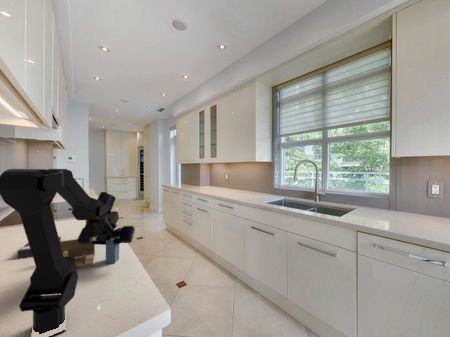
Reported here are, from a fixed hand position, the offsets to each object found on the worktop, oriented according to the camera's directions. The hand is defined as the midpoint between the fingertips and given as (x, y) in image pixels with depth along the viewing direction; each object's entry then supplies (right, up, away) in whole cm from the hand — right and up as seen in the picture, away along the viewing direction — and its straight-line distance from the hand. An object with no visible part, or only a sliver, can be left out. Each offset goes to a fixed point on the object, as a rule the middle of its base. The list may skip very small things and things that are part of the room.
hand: (114, 243), depth 81 cm
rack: (-14, -6, -4) cm, 16 cm away
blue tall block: (0, -7, -1) cm, 7 cm away
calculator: (-38, -6, +8) cm, 39 cm away
